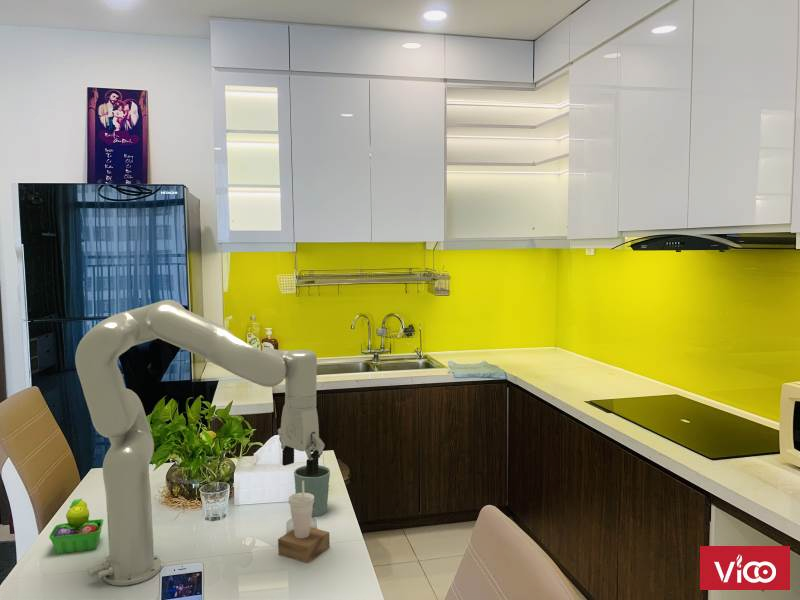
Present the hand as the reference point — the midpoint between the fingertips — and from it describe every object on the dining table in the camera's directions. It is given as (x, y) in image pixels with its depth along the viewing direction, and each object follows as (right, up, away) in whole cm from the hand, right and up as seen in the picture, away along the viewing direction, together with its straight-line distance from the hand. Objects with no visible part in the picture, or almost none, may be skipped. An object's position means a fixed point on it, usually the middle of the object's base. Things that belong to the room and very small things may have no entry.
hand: (300, 469), depth 156 cm
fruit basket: (-57, -21, +6) cm, 61 cm away
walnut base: (+1, -21, +2) cm, 21 cm away
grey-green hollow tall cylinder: (0, -19, +25) cm, 32 cm away
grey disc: (-2, -20, +13) cm, 24 cm away
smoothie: (0, -17, +2) cm, 17 cm away
